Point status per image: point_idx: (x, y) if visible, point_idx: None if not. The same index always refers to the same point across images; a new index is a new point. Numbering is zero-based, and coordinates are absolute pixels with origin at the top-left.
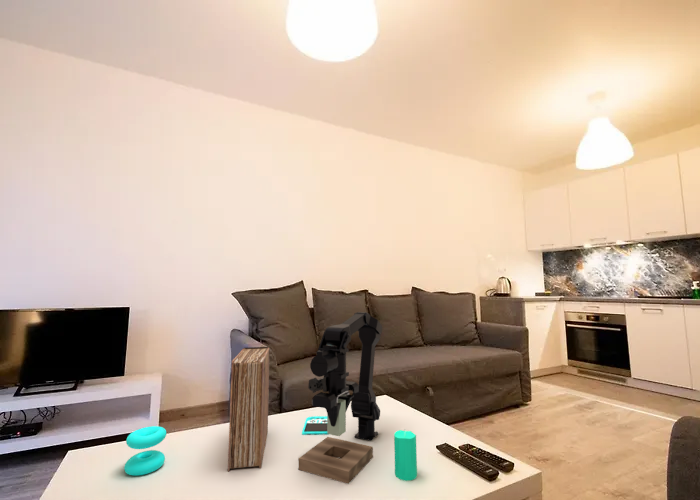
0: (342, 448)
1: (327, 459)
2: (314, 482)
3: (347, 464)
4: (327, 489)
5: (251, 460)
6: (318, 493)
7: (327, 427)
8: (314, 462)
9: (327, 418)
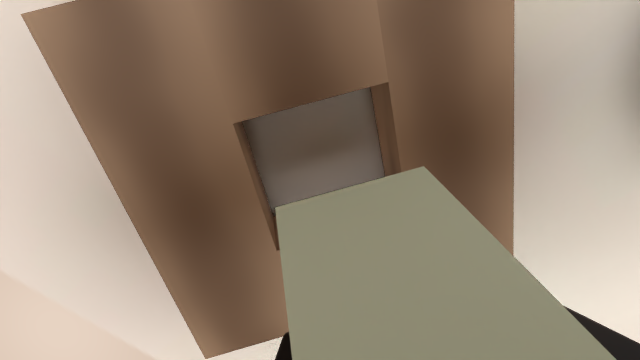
0: (398, 157)
1: (206, 200)
2: (75, 203)
3: (255, 312)
4: (98, 287)
5: None
6: (38, 284)
7: (281, 247)
8: (103, 167)
9: (291, 340)
